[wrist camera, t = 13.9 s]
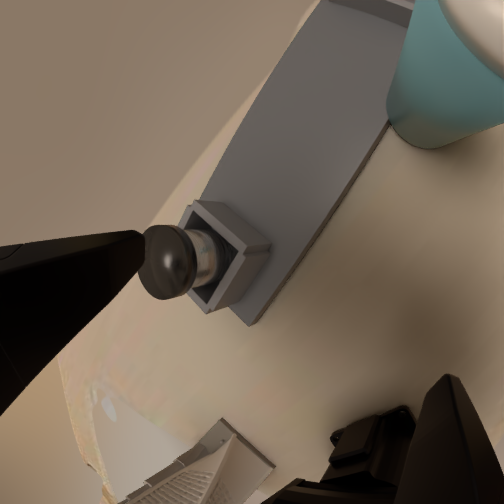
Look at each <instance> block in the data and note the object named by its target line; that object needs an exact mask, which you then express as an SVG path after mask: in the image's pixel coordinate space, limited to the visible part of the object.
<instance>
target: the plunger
mask: <svg viewBox="0 0 504 504" xmlns="http://www.w3.org/2000/svg"><path fill="white" fill-rule="evenodd" d="M143 235H144V236H145V239H146V247H145V262H144V264H143V266H142V267H141V268H140V269H139V270H138V275H139V278H140V280H141V283H142V284H143V286H144V288H145V289H146V290H147V292H148V293H149V294H150V295H152V296H153V297H155V298H157V299H160V300H167V299H171V298H175V297H179V296H182V295H184V294H185V293H187V292H188V291H189V290H190V288H194V287H198V286H202V285H206V284H211V283H215V282H219V281H221V280H222V279H223V277H224V275H225V274H226V272H227V270H228V269H229V267H230V265H231V264H232V262H233V260H234V259H235V257H236V255H237V254H238V252H239V251H238V250H237V249H236V248H235V247H234V246H233V245H231V244H230V243H229V242H228V241H227V240H226V239H225V238H224V237H223V236H221V235H220V234H219V233H218V232H217V231H216V230H215V229H192V230H183V229H181V228H180V227H178V226H175V225H154V226H151V227H149V228H148V229H147V230H146V231H145V232H144V233H143Z"/></svg>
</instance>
